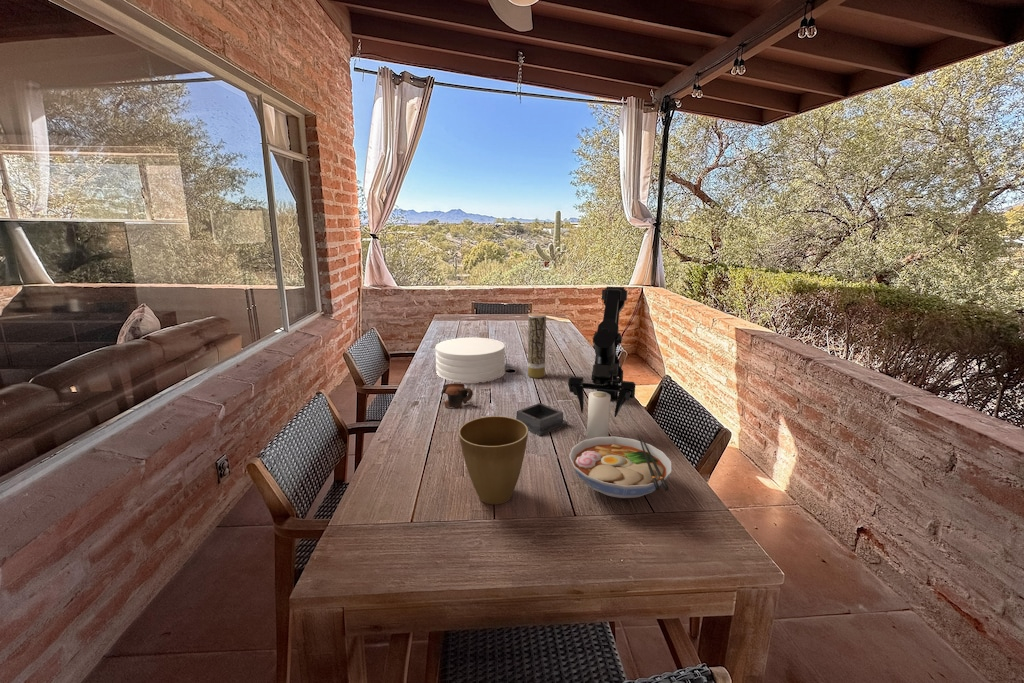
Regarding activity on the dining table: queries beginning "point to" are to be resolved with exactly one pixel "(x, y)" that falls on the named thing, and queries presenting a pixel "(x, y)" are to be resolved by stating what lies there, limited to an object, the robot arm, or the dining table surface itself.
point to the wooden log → (536, 345)
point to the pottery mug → (456, 394)
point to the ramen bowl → (621, 466)
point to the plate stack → (470, 360)
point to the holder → (541, 418)
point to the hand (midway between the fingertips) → (598, 414)
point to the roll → (598, 414)
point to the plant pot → (494, 455)
